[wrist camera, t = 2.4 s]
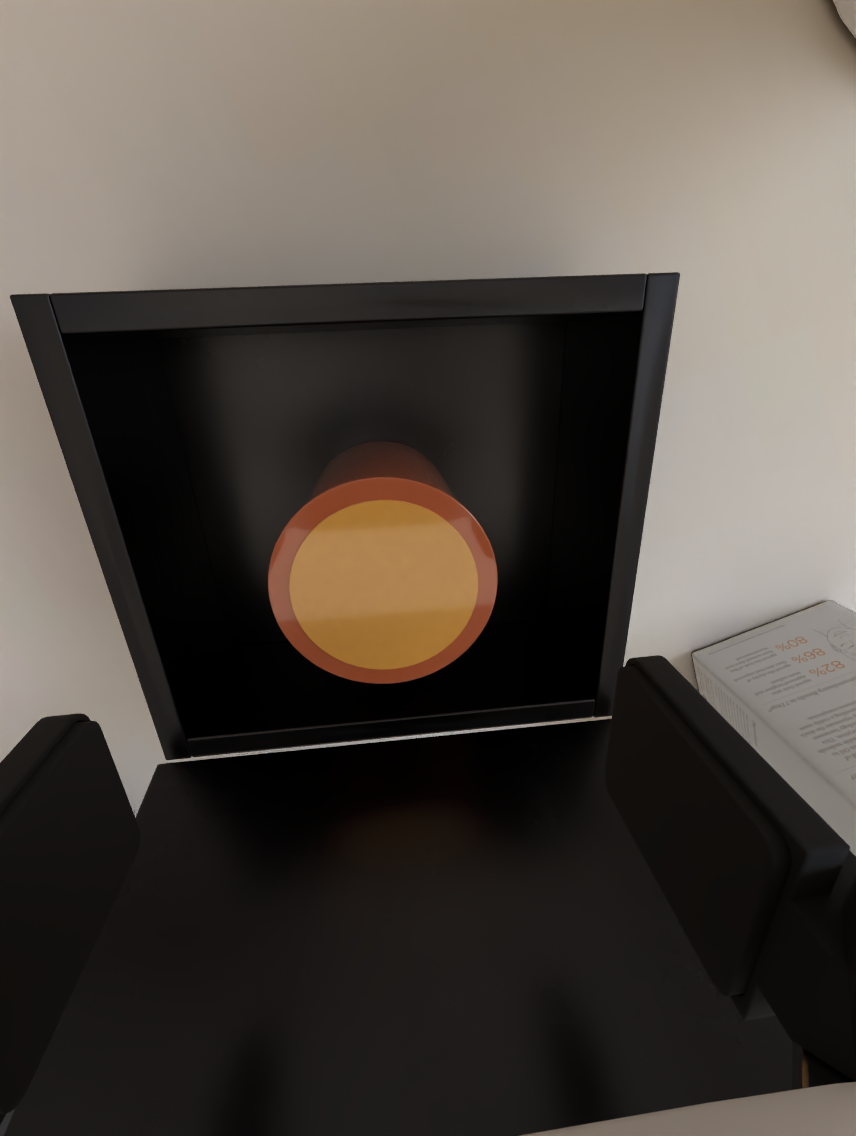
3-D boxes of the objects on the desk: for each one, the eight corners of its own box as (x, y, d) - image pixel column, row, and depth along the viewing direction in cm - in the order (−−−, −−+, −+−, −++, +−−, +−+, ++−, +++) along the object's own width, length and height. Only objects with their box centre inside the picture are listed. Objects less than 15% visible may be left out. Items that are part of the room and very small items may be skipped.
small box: (701, 723, 29) (861, 907, 20) (687, 650, 27) (860, 817, 17) (836, 674, 29) (1067, 839, 19) (833, 595, 26) (1094, 737, 17)
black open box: (135, 312, 18) (8, 294, 12) (582, 296, 19) (681, 272, 13) (220, 653, 24) (165, 760, 18) (556, 624, 25) (616, 716, 19)
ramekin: (291, 437, 20) (246, 486, 13) (457, 428, 20) (500, 470, 13) (314, 587, 22) (286, 694, 15) (459, 576, 23) (496, 675, 16)
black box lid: (-515, 2371, 4) (-167, 2005, 6) (1250, 1846, 5) (1008, 1700, 8) (157, 763, 17) (192, 834, 20) (623, 716, 19) (604, 788, 21)
